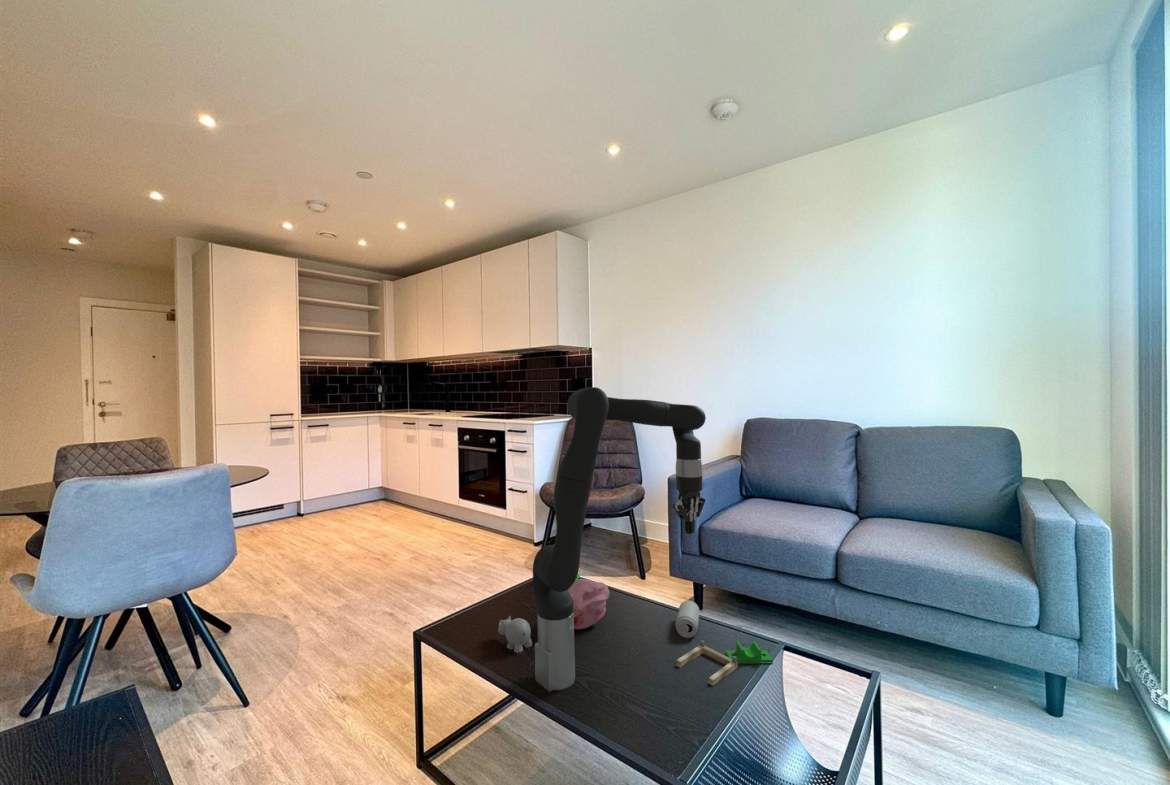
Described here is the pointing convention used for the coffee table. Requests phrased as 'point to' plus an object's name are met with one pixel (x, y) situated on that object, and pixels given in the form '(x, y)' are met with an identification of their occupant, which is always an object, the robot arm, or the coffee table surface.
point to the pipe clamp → (749, 654)
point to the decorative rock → (588, 602)
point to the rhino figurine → (516, 633)
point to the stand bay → (702, 649)
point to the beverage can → (687, 619)
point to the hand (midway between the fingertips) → (690, 533)
